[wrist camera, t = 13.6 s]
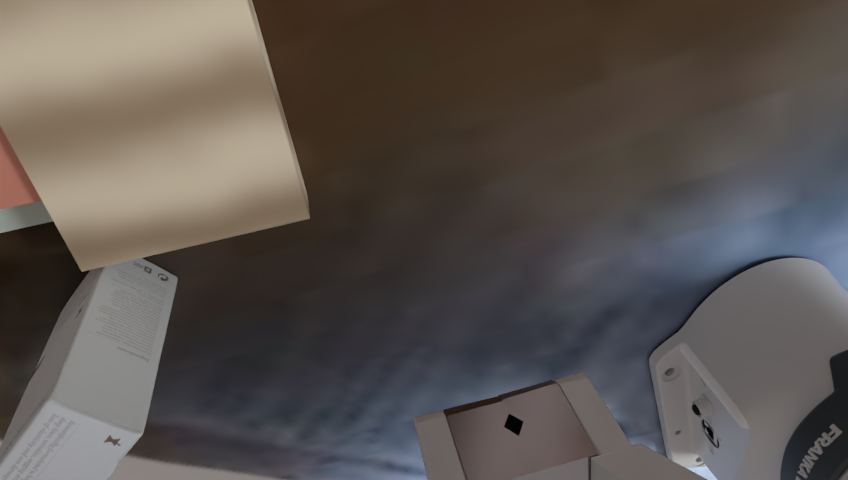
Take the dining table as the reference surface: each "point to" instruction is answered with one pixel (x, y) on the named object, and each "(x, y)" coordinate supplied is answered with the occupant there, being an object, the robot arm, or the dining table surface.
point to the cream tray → (147, 123)
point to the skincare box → (92, 377)
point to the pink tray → (13, 178)
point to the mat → (23, 216)
